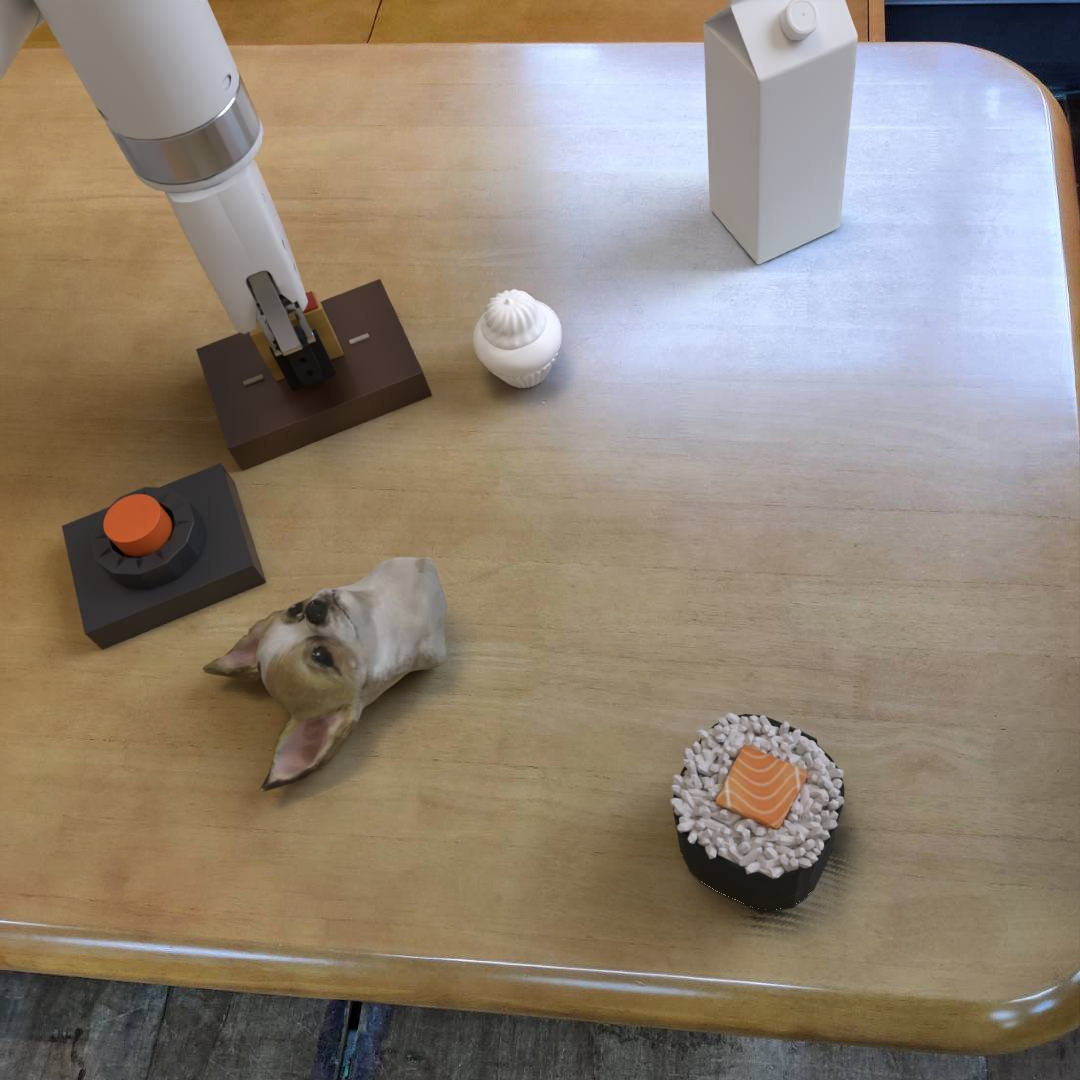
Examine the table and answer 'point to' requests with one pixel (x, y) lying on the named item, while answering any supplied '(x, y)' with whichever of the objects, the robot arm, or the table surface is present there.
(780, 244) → the milk carton
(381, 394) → the plate
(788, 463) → the table surface
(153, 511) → the bell button
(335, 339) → the lock knob
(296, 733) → the ceramic sculpture
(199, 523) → the push button base
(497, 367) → the muffin
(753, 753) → the sushi
